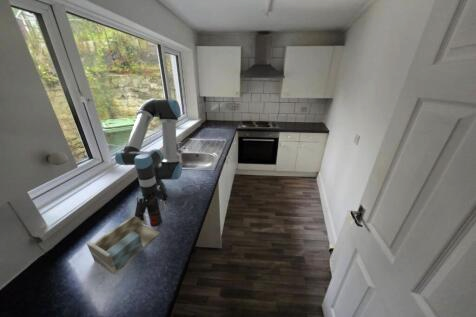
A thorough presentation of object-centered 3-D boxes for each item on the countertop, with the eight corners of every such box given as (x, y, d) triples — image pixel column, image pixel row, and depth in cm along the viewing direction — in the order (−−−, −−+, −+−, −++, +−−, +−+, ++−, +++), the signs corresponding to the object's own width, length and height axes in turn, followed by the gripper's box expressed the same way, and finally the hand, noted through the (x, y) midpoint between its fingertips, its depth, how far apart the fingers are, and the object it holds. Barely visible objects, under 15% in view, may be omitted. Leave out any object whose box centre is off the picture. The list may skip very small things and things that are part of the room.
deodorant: (164, 220, 103) (160, 199, 97) (157, 227, 98) (152, 205, 92) (155, 217, 104) (151, 197, 98) (148, 225, 99) (143, 203, 93)
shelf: (141, 224, 99) (137, 209, 95) (159, 233, 94) (156, 217, 89) (94, 260, 79) (86, 243, 75) (114, 274, 74) (107, 256, 69)
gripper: (161, 172, 102) (166, 202, 111) (119, 194, 82) (130, 229, 90) (171, 175, 99) (175, 205, 108) (130, 198, 79) (140, 234, 87)
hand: (154, 216), depth 99 cm, fingers open, 12 cm apart
